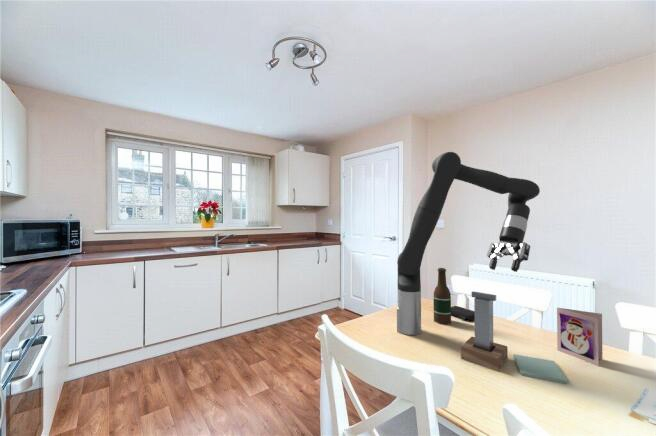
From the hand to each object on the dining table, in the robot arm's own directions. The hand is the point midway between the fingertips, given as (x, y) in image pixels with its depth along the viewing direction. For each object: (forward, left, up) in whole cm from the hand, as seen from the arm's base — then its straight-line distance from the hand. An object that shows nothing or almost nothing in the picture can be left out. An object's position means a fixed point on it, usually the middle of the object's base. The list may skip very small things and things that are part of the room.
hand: (502, 269), depth 99 cm
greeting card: (+23, +3, -28) cm, 36 cm away
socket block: (-7, -12, -28) cm, 31 cm away
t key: (-7, -12, -28) cm, 31 cm away
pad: (+7, -13, -28) cm, 32 cm away
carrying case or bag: (-13, +29, -29) cm, 43 cm away
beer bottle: (-21, +18, -28) cm, 39 cm away
